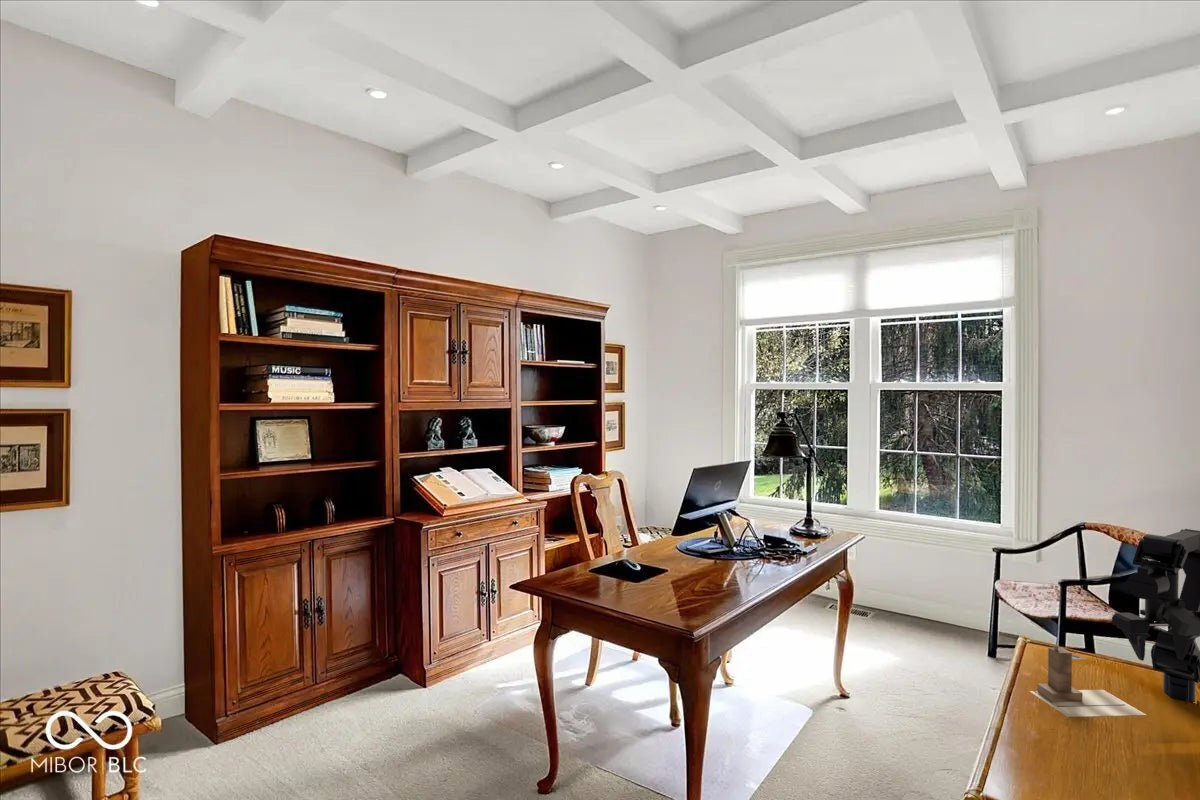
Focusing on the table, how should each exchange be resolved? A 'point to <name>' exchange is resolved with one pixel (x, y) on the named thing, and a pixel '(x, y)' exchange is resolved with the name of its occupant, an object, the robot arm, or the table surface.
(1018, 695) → the table surface
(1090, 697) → the birch board
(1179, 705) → the table surface
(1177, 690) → the robot arm
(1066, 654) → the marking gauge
